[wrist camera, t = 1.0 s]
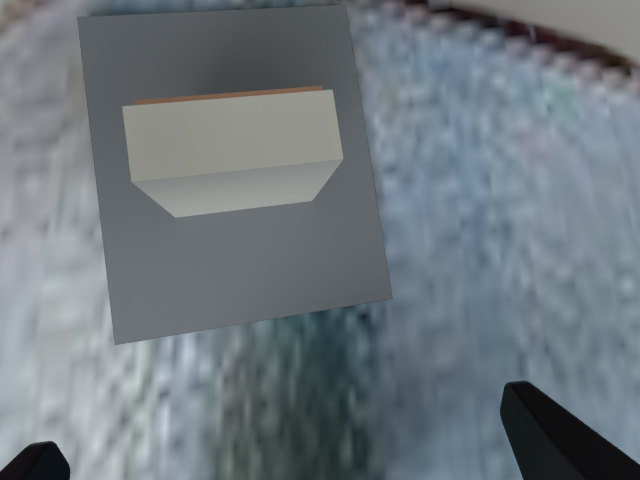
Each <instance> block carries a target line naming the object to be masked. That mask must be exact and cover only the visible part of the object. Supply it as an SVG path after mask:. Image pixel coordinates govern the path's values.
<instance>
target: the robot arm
mask: <svg viewBox="0 0 640 480" xmlns="http://www.w3.org/2000/svg"><path fill="white" fill-rule="evenodd" d="M500 415H501V420H502V423H503V425H504V428H505V431H506V433H507V436H508V439H509V442H510V444H511V447H512V450H513V452H514V455H515V458H516V461H517V463H518V466H519V469H520V471H521V474H522V477H523V480H640V464H638V463H637V462H636V461H634V460H633V459H632V458H630V457H629V456H628V455H626V454H625V453H623V452H622V451H621V450H619V449H618V448H617V447H615V446H614V445H613V444H611V443H610V442H609V441H607V440H606V439H605V438H603V437H602V436H601V435H599V434H598V433H597V432H595V431H594V430H593V429H591V428H590V427H589V426H587V425H586V424H585V423H583V422H582V421H581V420H579V419H578V418H577V417H575V416H574V415H573V414H571V413H570V412H569V411H567V410H566V409H565V408H563V407H562V406H561V405H559V404H558V403H557V402H555V401H554V400H553V399H551V398H550V397H549V396H547V395H546V394H545V393H543V392H542V391H540V390H539V389H538V388H536V387H535V386H534V385H532V384H531V383H530V382H527V381H515V382H508V383H507V384H506V385H505V387H504V391H503V396H502V402H501V407H500ZM69 479H70V467H69V464H68V462H67V460H66V459H65V457H64V456H63V454H62V452H61V451H60V449H59V448H58V446H57V445H56V443H54V442H52V441H46V442H38V443H33V444H30V445H29V446H27V447H26V448H25V449H23V450H22V451H21V452H20V453H19V454H18V455H17V456H16V457H15V458H14V459H13V460H12V461H11V462H10V463H9V464H8V465H7V466H5V467H4V468H3V469H2V470H1V471H0V480H69Z"/></svg>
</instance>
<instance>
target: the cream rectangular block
mask: <svg viewBox="0 0 640 480" xmlns="http://www.w3.org/2000/svg"><path fill="white" fill-rule="evenodd" d="M133 102H134V106H122V109H123V117H124V126H125V134H126V142H127V150H128V159H129V167H130V175H131V182H132V183H133V184H134V185H136V186H137V187H138V188H139V189H141V190H142V191H143V192H144V193H146V194H147V195H148V196H149V197H150V198H152V199H153V200H154V201H155V202H157V203H158V204H159V205H160V206H162V207H163V208H164V209H165V210H166V211H168V212H169V213H170V214H171V215H173V216H174V217H175V218H177V217H185V216H193V215H201V214H209V213H218V212H226V211H234V210H242V209H250V208H258V207H267V206H275V205H283V204H291V203H299V202H307V201H313V199H314V198H315V197H316V195H317V194H318V193H319V191H320V190H321V189H322V187H323V186H324V185H325V183H326V182H327V181H328V179H329V178H330V176H331V175H332V174H333V172H334V171H335V170H336V168H337V167H338V166H339V164H340V163H341V162H342V160H343V153H342V146H341V140H340V133H339V127H338V120H337V114H336V108H335V101H334V95H333V90H322V86H312V87H299V88H287V89H274V90H261V91H248V92H236V93H223V94H210V95H197V96H184V97H172V98H159V99H146V100H133Z"/></svg>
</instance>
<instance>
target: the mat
mask: <svg viewBox="0 0 640 480" xmlns="http://www.w3.org/2000/svg"><path fill="white" fill-rule="evenodd" d="M77 20H78V28H79V37H80V46H81V54H82V63H83V72H84V81H85V89H86V98H87V107H88V115H89V124H90V133H91V141H92V150H93V159H94V167H95V176H96V185H97V194H98V202H99V211H100V220H101V228H102V237H103V246H104V254H105V263H106V272H107V281H108V289H109V298H110V307H111V315H112V324H113V333H114V341H115V345H118V344H124V343H130V342H136V341H142V340H148V339H154V338H160V337H166V336H172V335H178V334H184V333H190V332H196V331H202V330H208V329H214V328H220V327H227V326H233V325H239V324H245V323H251V322H257V321H263V320H269V319H275V318H281V317H287V316H293V315H299V314H305V313H311V312H317V311H323V310H329V309H335V308H341V307H347V306H353V305H359V304H365V303H371V302H377V301H383V300H389V299H393V298H392V292H391V286H390V280H389V273H388V267H387V261H386V255H385V249H384V242H383V236H382V230H381V224H380V217H379V211H378V205H377V199H376V192H375V186H374V180H373V174H372V167H371V161H370V155H369V149H368V142H367V136H366V130H365V124H364V118H363V111H362V105H361V99H360V93H359V86H358V80H357V74H356V68H355V61H354V55H353V49H352V43H351V36H350V30H349V24H348V18H347V11H346V5H326V6H305V7H283V8H262V9H241V10H220V11H199V12H177V13H156V14H135V15H114V16H93V17H77ZM312 86H322V90H333V95H334V101H335V108H336V114H337V120H338V127H339V133H340V140H341V146H342V153H343V160H342V162H341V163H340V164H339V166H338V167H337V168H336V170H335V171H334V172H333V174H332V175H331V176H330V178H329V179H328V181H327V182H326V183H325V185H324V186H323V187H322V189H321V190H320V191H319V193H318V194H317V195H316V197H315V198H314V199H313V201H307V202H299V203H291V204H283V205H275V206H267V207H258V208H250V209H242V210H234V211H226V212H218V213H209V214H201V215H193V216H185V217H177V218H175V217H174V216H173V215H171V214H170V213H169V212H168V211H166V210H165V209H164V208H163V207H162V206H160V205H159V204H158V203H157V202H155V201H154V200H153V199H152V198H150V197H149V196H148V195H147V194H146V193H144V192H143V191H142V190H141V189H139V188H138V187H137V186H136V185H134V184H133V183H132V182H131V175H130V167H129V159H128V150H127V142H126V134H125V126H124V117H123V109H122V106H134V102H133V100H146V99H159V98H172V97H184V96H197V95H210V94H223V93H236V92H248V91H261V90H274V89H287V88H299V87H312Z"/></svg>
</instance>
